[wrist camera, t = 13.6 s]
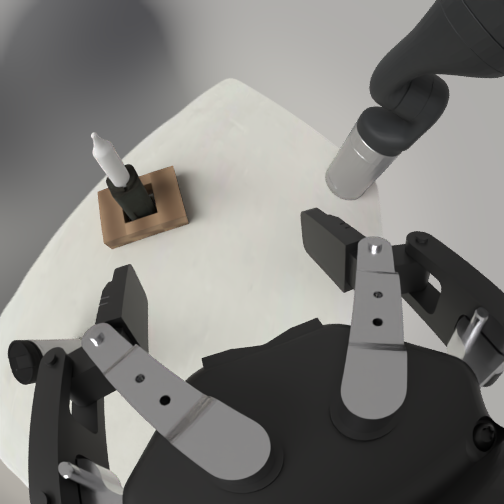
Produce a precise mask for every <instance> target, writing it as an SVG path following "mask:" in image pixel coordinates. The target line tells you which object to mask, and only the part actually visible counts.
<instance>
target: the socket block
mask: <svg viewBox="0 0 504 504" xmlns="http://www.w3.org/2000/svg"><path fill="white" fill-rule="evenodd" d="M139 178H140V180H141V182H142V184H143V186H144V187H145V189H146V191H147V193H148V195H149V194H152V193H154V198H155V203H156V207H157V212H158V213H155V214H152V215H149V216H146V217H143V218H140V219H137V220H134V221H131V222H130V220H129V216H128V215H127V214H126V213H125V211H124V210H123V209H122V208H121V207H120V205H119V204H118V203H117V202H116V200H115V199H114V198H113V197H112V195H111V192H110V190H109V188H107V189H104V190H102V191H99V192H98V201H99V210H100V219H101V226H102V233H103V240H104V244H106V245H107V246H109V247H110V248H111V249H114V248H117V247H120V246H123V245H125V244H128V243H131V242H134V241H137V240H140V239H143V238H146V237H149V236H152V235H155V234H158V233H161V232H164V231H168V230H171V229H174V228H177V227H180V226H183V225H187V224H189V223H188V219H187V215H186V212H185V208H184V204H183V201H182V197H181V193H180V189H179V186H178V182H177V178H176V174H175V171H174V168H173V166H170V167H167V168H164V169H161V170H158V171H154V172H151V173H148V174H145V175H142V176H140V177H139Z"/></svg>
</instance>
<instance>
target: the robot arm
mask: <svg viewBox="0 0 504 504" xmlns="http://www.w3.org/2000/svg"><path fill="white" fill-rule="evenodd" d="M436 74H447V75H458V76H466V77H476V78H477V77H478V78H498V77H502V76H504V0H436V1H435V3H434V4H433V5H432V7H431V8H430V9H429V11H428V12H427V13H426V14H425V16H424V17H423V18H422V19H421V21H420V22H419V23H418V24H417V26H416V27H415V28H414V29H413V30H412V31H411V32H410V33H409V34H408V35H407V36H406V37H405V38H404V39H403V40H401V41H400V42H399V43H398V44H397V45H396V46H395V47H394V48H393V49H392V50H391V51H390V52H389V53H388V54H387V55H386V56H385V57H384V58H383V59H382V60H381V61H380V63H379V64H378V65H377V67H376V69H375V70H374V72H373V74H372V77H371V81H370V94H371V96H372V98H373V99H374V100H375V102H376V103H378V104H379V105H380V106H382V107H369V108H367V109H366V110H364V111H363V113H362V114H361V115H360V117H359V119H358V121H357V122H356V124H355V126H354V127H353V129H352V130H351V132H350V134H349V135H348V137H347V139H346V140H345V142H344V144H343V145H342V147H341V149H340V150H339V152H338V153H337V155H336V157H335V158H334V160H333V162H332V163H331V165H330V166H329V168H328V170H327V172H326V182H327V185H328V187H329V188H330V190H331V191H332V192H333V193H334V194H335V195H337V196H338V197H340V198H342V199H346V200H354V199H357V198H358V197H360V196H361V195H362V194H363V193H364V192H365V191H366V190H367V189H368V188H369V187H370V185H371V184H372V183H373V182H374V181H375V180H376V179H377V178H378V177H379V176H380V175H381V174H382V173H383V172H384V171H385V170H386V169H387V168H388V166H389V165H390V164H391V163H392V162H393V161H394V160H395V159H396V158H397V157H398V155H399V154H400V153H401V152H402V151H405V150H407V149H408V148H409V147H410V146H411V145H413V144H414V143H415V142H416V141H417V140H418V138H420V137H421V136H422V135H423V134H424V133H425V132H426V131H427V130H428V129H430V128H431V127H432V126H433V125H434V124H435V123H436V121H437V120H438V119H439V118H440V116H441V115H442V114H443V112H444V110H445V108H446V106H447V103H448V100H449V89H448V86H447V84H446V83H445V81H444V80H442V79H441V78H440V77H439V76H437V75H436ZM301 226H302V237H303V244H304V248H305V250H306V252H307V253H308V254H309V255H310V257H311V258H312V259H313V260H314V261H315V262H316V263H317V264H318V265H319V266H320V267H321V268H322V269H323V271H324V272H325V273H326V274H327V275H328V276H329V277H330V278H331V279H332V280H333V281H334V282H335V284H336V285H337V286H338V287H339V288H340V289H341V290H342V291H343V292H344V293H345V292H347V291H350V290H352V289H354V290H355V294H354V304H353V313H352V322H351V326H350V325H344V324H327V325H322V324H321V322H320V321H319V319H318V318H315V319H313V320H310V321H308V322H305V323H303V324H300V325H298V326H295V327H292V328H290V329H288V330H287V331H285V332H284V333H282V334H281V335H279V336H277V337H276V338H274V339H273V340H271V341H269V342H268V343H266V344H264V345H260V346H253V347H245V348H237V349H230V350H227V351H224V352H220V353H217V354H214V355H211V356H207V357H204V358H202V363H203V368H201V369H199V370H198V371H196V372H195V373H194V374H192V375H191V376H190V377H189V378H188V379H187V380H186V381H184V380H182V379H181V378H180V377H178V376H177V375H175V374H174V373H173V372H171V371H170V370H169V369H167V368H166V367H165V366H163V365H162V364H161V363H159V362H158V361H157V360H156V359H154V358H153V357H152V356H151V355H149V353H148V301H147V297H146V294H145V291H144V289H143V287H142V285H141V283H140V281H139V279H138V277H137V275H136V273H135V271H134V269H133V267H132V265H131V264H128V265H125V266H122V267H119V268H116V269H115V270H114V275H113V279H112V281H111V282H108V283H107V285H106V286H105V288H104V289H103V291H102V295H101V300H100V304H99V305H100V306H99V309H98V313H97V318H96V323H95V325H94V326H92V327H91V328H89V329H88V330H87V331H86V332H85V334H84V335H83V337H82V341H81V345H82V346H81V347H80V348H78V349H76V350H74V351H72V352H71V353H69V354H67V353H66V352H65V351H64V349H63V348H61V347H55V348H52V349H50V350H49V351H48V352H46V354H45V355H44V356H43V357H42V359H41V361H40V365H39V370H38V375H37V380H36V386H35V392H34V398H33V405H32V413H31V423H30V435H29V457H28V473H29V494H30V503H31V504H504V428H503V427H501V426H500V425H498V424H497V423H495V422H494V421H493V420H492V419H491V417H490V416H489V414H488V412H487V410H486V407H485V405H484V402H483V399H482V395H481V391H480V388H481V387H482V386H483V387H488V386H490V385H492V384H493V383H494V382H495V381H496V380H497V379H498V377H499V376H500V375H501V374H502V372H503V371H504V293H503V292H502V291H501V290H500V289H499V288H498V287H497V286H495V285H494V284H493V283H492V282H491V281H490V280H489V279H487V278H486V277H485V276H484V275H482V274H481V273H480V272H479V271H478V270H476V269H475V268H474V267H473V266H472V265H470V264H469V263H468V262H467V261H465V260H464V259H463V258H462V257H460V256H459V255H458V254H456V253H455V252H453V251H452V250H451V249H450V248H448V247H447V246H446V245H444V244H443V243H442V242H440V241H439V240H437V239H436V238H434V237H433V236H432V235H430V234H428V233H425V232H420V231H419V232H418V231H416V232H411V233H409V234H408V235H407V237H406V244H402V245H394V246H391V244H390V242H388V241H387V240H385V239H383V238H380V237H365V236H364V235H362V234H361V233H359V232H358V231H357V230H355V229H354V228H353V227H351V226H350V225H348V224H347V223H345V222H344V221H343V220H341V219H340V218H339V217H335V216H332V215H327V214H325V213H324V212H322V211H321V210H320V209H318V208H313V209H310V210H306V211H303V212H301ZM430 273H431V274H432V275H433V276H434V277H435V278H436V279H437V280H438V281H439V282H440V284H441V293H440V292H439V291H438V290H437V289H435V288H434V287H433V286H432V285H431V284H430V283H429V282H428V279H429V275H430ZM401 297H402V298H403V299H404V300H405V301H406V302H407V303H408V304H409V305H410V306H411V307H412V308H413V309H414V310H415V311H416V313H417V314H418V315H419V316H420V317H421V318H422V319H423V320H424V321H425V322H426V324H427V325H428V326H429V327H430V328H431V329H432V330H433V331H434V332H435V333H436V335H437V336H438V337H439V338H440V339H441V341H442V342H443V343H444V344H445V345H446V347H447V352H448V354H446V353H443V352H439V351H435V350H432V349H428V348H424V347H421V346H417V345H414V344H410V343H407V342H404V332H403V315H402V314H403V313H402V299H401ZM116 390H117V391H118V392H119V393H120V394H121V395H122V396H123V397H124V398H125V399H126V400H127V402H128V403H129V404H130V405H131V406H132V407H133V408H134V409H135V410H136V411H137V412H138V413H139V414H140V415H141V416H142V417H143V418H144V419H145V420H146V421H147V422H149V423H150V424H151V425H152V426H153V427H154V428H155V429H156V431H155V432H154V434H153V436H152V438H151V439H150V441H149V443H148V445H147V447H146V448H145V450H144V452H143V454H142V455H141V457H140V459H139V461H138V462H137V464H136V466H135V468H134V470H133V471H132V473H131V475H130V477H129V478H128V480H127V482H126V484H125V486H124V489H123V487H122V486H121V483H120V480H119V478H118V477H117V476H116V475H115V474H114V473H113V472H112V471H110V469H109V462H108V453H107V444H106V432H105V416H104V396H106V395H108V394H110V393H112V392H114V391H116ZM70 400H71V401H72V415H71V413H70V409H69V404H70Z"/></svg>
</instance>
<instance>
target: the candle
mask: <svg viewBox="0 0 504 504" xmlns="http://www.w3.org/2000/svg"><path fill="white" fill-rule="evenodd" d="M91 138H93V142H94V148H93V156H94V157H95V159H96V160H97V161H98V163H99V164H100V166H101V167H102V169H103V170H104V172H105V173H106V174H107V176H108V177H107V180H106V183H107V186H108V188H109V190H110V192H111V195H112V197H113V198H114V199H115V200H116V202H117V203H118V204H119V205H120V207H121V208H122V209H123V210H124V211H125V213H126V214H127V215H128V216H129V217H130V219H131V220H132V221H134V220H137V219H140V218H143V217H146V216H149V215H152V214H155V213H158V212H157V209H156V207H155V205H154V204H153V202H152V200H151V198H150V196H149V195H148V193H147V191H146V189H145V187H144V186H143V184H142V182H141V180H140V178H139V176H138V175H137V173H136V171H135V169H134V167H133V166H132V165H130V164H127V165H125V166H124V164H123V162H122V161H121V159H120V157H119V155H118V153H117V152H116V150H115V148H114V146H113V144H112V143H111V142H110V141H108V140H103V139H102V138H100V137H98V136H97V133H95V132H94V133H92V134H91Z"/></svg>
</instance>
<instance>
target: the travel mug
mask: <svg viewBox="0 0 504 504" xmlns="http://www.w3.org/2000/svg"><path fill="white" fill-rule="evenodd" d="M81 341H82V339H59V340H14V341H12V343H11V344H10V346H9V349H8V358H9V362H10V366H11V369H12V373H13V375H14V377H15V378H16V379H17V381H18V382H20V383H21V384H24V385H27V384H31V383H36V380H37V375H38V370H39V365H40V361H41V359H42V357H43V356H44V355H45V354H46V352H48V351H49V350H50V349H52V348H55V347H61V348H63V349H64V351H65V352H66V353H67V354H69V353H71V352H72V351H74V350H76V349H78V348H80V347H81V346H82V345H81Z"/></svg>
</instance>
